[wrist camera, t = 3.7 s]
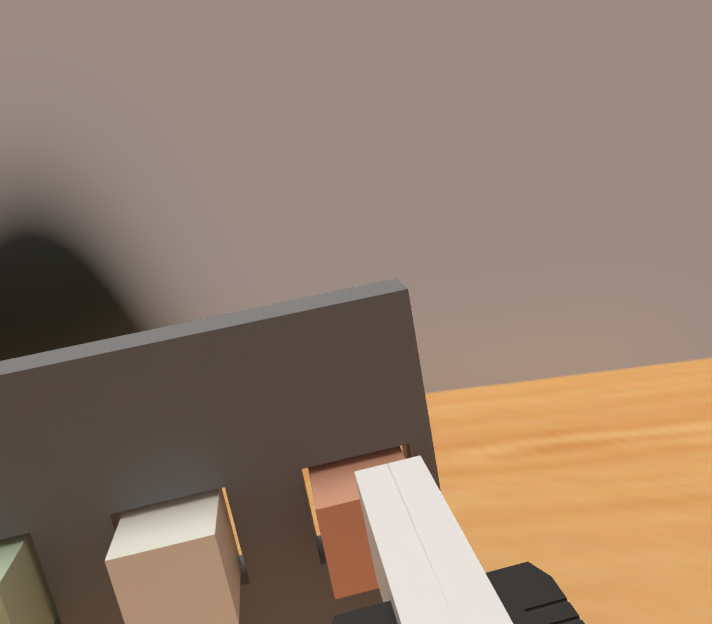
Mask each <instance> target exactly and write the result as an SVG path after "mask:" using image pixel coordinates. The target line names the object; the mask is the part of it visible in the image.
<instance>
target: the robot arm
mask: <svg viewBox="0 0 712 624" xmlns="http://www.w3.org/2000/svg"><path fill="white" fill-rule="evenodd" d="M354 474H355V479H356V483H357V488H358V493H359V498H360V503H361V507H362V512H363V517H364V522H365V526H366V531H367V536H368V541H369V546H370V550H371V555H372V560H373V565H374V570H375V574H376V579H377V582H378V586H379V589H380V593H381V596H382V600H383V603H379V604H375V605H372V606H368V607H364V608H360V609H357V610H353V611H349V612H345V613H342V614H338V615H335V616H334V619H333V622H332V624H585V623H584V622H583V621H582V620H580V618H579V615H578V613H577V612H576V611H575V609H574V608H573V606H572V605H571V604H570V602H568V601H567V598H566V596H565V595H564V594H563V592H562V591H561V589H560V588H559V587H558V585H557V584H556V582H555V581H554V579H553V578H552V577H551V576H550V575H548V574H546V573H545V572H543V571H542V570H540V569H539V568H537V567H535V566H534V565H532V564H531V563H529V562H525V563H521V564H517V565H514V566H510V567H506V568H502V569H499V570H495V571H491V572H487V573H485V572H484V570H483V568H482V566H481V564H480V562H479V561H478V559H477V557H476V555H475V553H474V552H473V550H472V548H471V546H470V544H469V543H468V541H467V539H466V537H465V535H464V533H463V532H462V530H461V528H460V526H459V524H458V523H457V521H456V519H455V517H454V515H453V514H452V512H451V510H450V508H449V506H448V504H447V503H446V501H445V499H444V497H443V495H442V494H441V492H440V490H439V488H438V486H437V485H436V483H435V481H434V479H433V477H432V475H431V474H430V472H429V470H428V468H427V466H426V465H425V463H424V461H423V459H422V457H421V456H416V457H412V458H408V459H404V460H399V461H395V462H391V463H387V464H383V465H379V466H375V467H371V468H367V469H363V470H359V471H355V472H354Z"/></svg>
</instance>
